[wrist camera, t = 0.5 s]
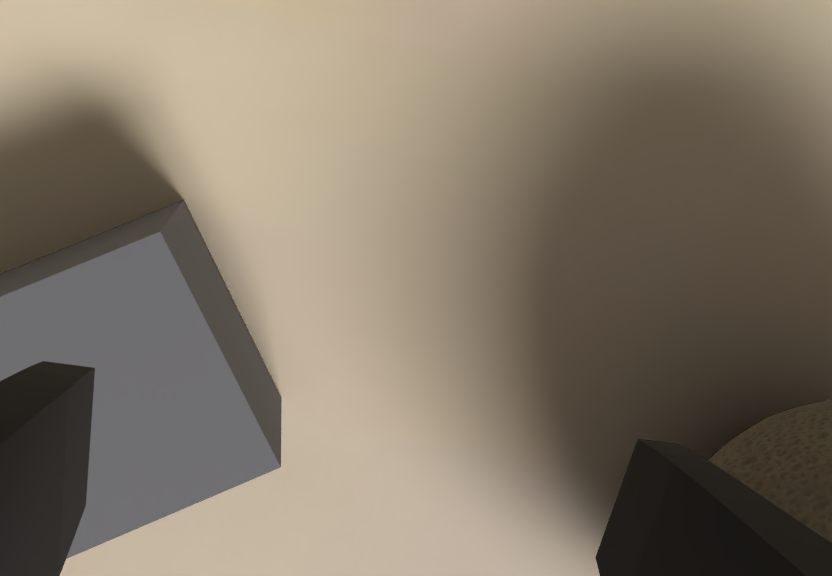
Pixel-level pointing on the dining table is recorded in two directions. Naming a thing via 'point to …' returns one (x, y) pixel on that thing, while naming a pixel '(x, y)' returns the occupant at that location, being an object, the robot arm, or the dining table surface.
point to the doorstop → (147, 368)
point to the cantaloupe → (788, 463)
